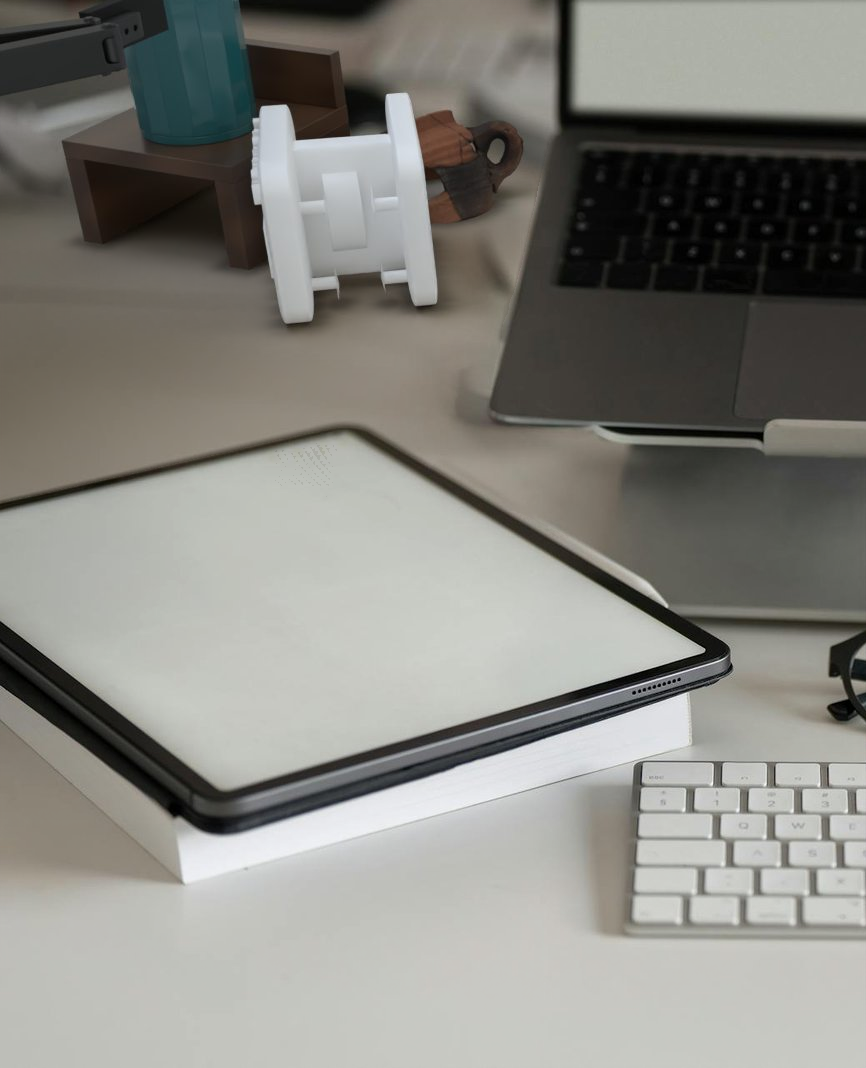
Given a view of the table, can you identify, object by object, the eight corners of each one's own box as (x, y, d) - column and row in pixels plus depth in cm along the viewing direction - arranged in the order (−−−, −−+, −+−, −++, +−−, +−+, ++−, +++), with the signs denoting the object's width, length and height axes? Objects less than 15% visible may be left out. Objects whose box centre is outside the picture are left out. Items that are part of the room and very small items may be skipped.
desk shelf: (85, 247, 122) (47, 83, 116) (206, 182, 133) (178, 29, 127) (249, 277, 118) (220, 108, 112) (360, 207, 129) (339, 50, 123)
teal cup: (115, 137, 119) (81, -24, 113) (187, 102, 125) (159, -51, 119) (211, 151, 116) (181, -11, 110) (280, 116, 123) (255, -40, 117)
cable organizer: (443, 327, 112) (424, 157, 106) (277, 343, 110) (247, 171, 103) (427, 240, 124) (409, 83, 118) (277, 253, 122) (251, 94, 115)
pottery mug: (399, 247, 124) (350, 140, 123) (396, 255, 133) (350, 155, 132) (550, 185, 127) (504, 79, 125) (536, 197, 136) (493, 99, 134)
